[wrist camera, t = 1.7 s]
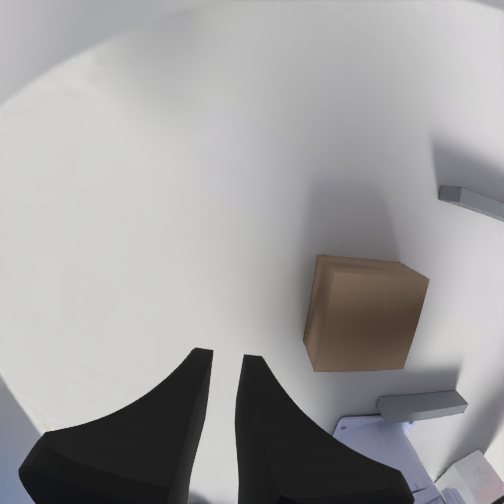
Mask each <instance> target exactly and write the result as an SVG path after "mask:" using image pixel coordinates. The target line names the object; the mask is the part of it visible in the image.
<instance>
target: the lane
mask: <svg viewBox="0 0 504 504" xmlns="http://www.w3.org/2000/svg"><path fill="white" fill-rule="evenodd" d="M439 200H442V201H445V202H449V203H452V204H455V205H458V206H461V207H464V208H467V209H470V210H473V211H476V212H479V213H482V214H485V215H487V216H490V217H493V218H496V219H498V220H501V221H504V204H503V203H501V202H498V201H496V200H494V199H491V198H489V197H486V196H484V195H481V194H479V193H476V192H474V191H471V190H468V189H466V188H463V187H455V186H441V187H440V194H439ZM467 406H468V403H467V402H466V401H465V400H464V399H463V398H462V396H461V395H460V394H459V393H458V392H457V391H456V390H451V391H443V392H434V393H424V394H413V395H399V396H380V397H379V400H378V402H377V404H376V407H377V409H378V410H379V412H380V414H381V416H382V418H383V420H384V421H385V423H386V424H393V423H402V422H410V421H418V420H425V419H431V418H438V417H443V416H449V415H454V414H459V413H464V411H465V409H466V408H467Z"/></svg>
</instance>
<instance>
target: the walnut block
mask: <svg viewBox="0 0 504 504" xmlns="http://www.w3.org/2000/svg"><path fill="white" fill-rule="evenodd" d="M428 283H429V279H428V278H426V277H425V276H423V275H421V274H419V273H418V272H416V271H414V270H412V269H411V268H409V267H407V266H405V265H404V264H402V263H400V262H389V261H379V260H368V259H358V258H348V257H337V256H327V255H317V262H316V269H315V275H314V281H313V288H312V294H311V300H310V305H309V311H308V317H307V322H306V328H305V333H304V338H303V342H304V344H305V347H306V350H307V353H308V355H309V358H310V361H311V364H312V366H313V369H314V372H348V371H376V370H393V369H403V367H404V364H405V361H406V359H407V356H408V353H409V350H410V347H411V344H412V341H413V337H414V334H415V331H416V328H417V324H418V321H419V317H420V314H421V310H422V307H423V303H424V299H425V295H426V291H427V287H428Z"/></svg>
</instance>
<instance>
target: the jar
mask: <svg viewBox="0 0 504 504" xmlns="http://www.w3.org/2000/svg"><path fill="white" fill-rule="evenodd" d="M434 485H435V486H436V488H437V489H438V491H439V492H440V494H441V495H442V497H443V498H444V496H443V494H442V492H441V491H442V490H444V489H445V488H447V487H449V488H450V489H451V488H454V489H457V490H458V492H459V493H460V495H461V497H462V498H463V500H464V501H465V503H466V504H503V503H504V483H503V481H502V480H501V478H500V477H499V476H498V474H497V473H496V471H495V470H494V469H493V467H492V466H491V465H490V463H489V462H488V461H487V459H486V458H485V457H484V455H483V454H482V453H481V451H480V450H479V449H477V450H476V451H474V452H472V453H471V454H469V455H467V456H466V457H464V458H462V459H460V460H458V461H457V462H455V463H453V464H452V465H451V466H450V467H449V468H448V469H447V470H446V472H445V473H444V474H443V475H442V476H441V477H440V478H439V479H438V480H437V481H436V482H435V483H434ZM444 500H445V498H444ZM445 502H446V501H445ZM446 504H447V503H446Z"/></svg>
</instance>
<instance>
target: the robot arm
mask: <svg viewBox="0 0 504 504" xmlns="http://www.w3.org/2000/svg"><path fill="white" fill-rule="evenodd" d="M213 351H214V350H208V349H202V348H194V349H193V350H192V351H191V352H190V354H189V355H188V356H187V357H186V359H185V360H184V361H183V362H182V363H181V364H180V365H179V366H178V367H177V368H176V369H175V370H174V371H173V372H172V373H171V374H170V375H169V376H168V377H167V378H166V379H165V380H163V381H162V382H161V383H160V384H158V385H157V386H156V387H155V388H154V389H152V390H151V391H150V392H148V393H147V394H145V395H144V396H142V397H141V398H139V399H138V400H136V401H135V402H133V403H131V404H129V405H128V406H126V407H124V408H122V409H120V410H118V411H116V412H114V413H112V414H110V415H107V416H105V417H102V418H100V419H97V420H94V421H91V422H88V423H85V424H81V425H78V426H74V427H69V428H65V429H60V430H55V431H49V432H45V433H44V434H43V436H42V437H41V438H40V439H39V440H38V441H37V443H36V444H35V445H34V447H33V448H32V450H31V451H30V453H29V454H28V456H27V457H26V459H25V460H24V462H23V464H22V465H21V467H20V468H19V477H20V480H21V482H22V484H23V486H24V488H25V489H26V491H27V492H28V494H29V495H30V496H31V498H32V499H33V501H34V502H35V503H36V504H187V499H188V492H189V484H190V477H191V472H192V467H193V463H194V459H195V456H196V452H197V448H198V444H199V440H200V437H201V433H202V429H203V425H204V421H205V416H206V409H207V402H208V394H209V385H210V376H211V368H212V359H213ZM414 423H415V421H410V422H402V423H393V424H386V423H385V421H384V420H383V418H382V416H381V415H379V416H360V417H344V418H342V419H340V421H339V423H338V425H337V427H336V429H335V432H334V434H333V436H331V435H330V434H328V433H327V432H326V431H324V430H323V429H322V428H321V427H319V426H318V425H317V424H316V423H315V422H314V421H312V420H311V419H310V418H309V417H308V416H307V415H306V414H305V413H304V412H303V411H302V410H301V409H300V408H299V407H298V406H297V405H296V404H295V402H294V401H293V400H292V399H291V398H290V397H289V395H288V394H287V393H286V391H285V390H284V389H283V387H282V386H281V385H280V383H279V382H278V381H277V379H276V378H275V376H274V375H273V373H272V372H271V370H270V368H269V367H268V365H267V363H266V362H265V360H264V359H263V357H262V356H254V355H245V354H244V357H243V363H242V368H241V374H240V380H239V386H238V391H237V397H236V409H235V434H236V448H237V461H238V474H239V490H238V504H446V503H447V504H466V503H465V501H464V500H463V498H462V497H461V495H460V493H459V492H458V490H457V489H454V488H451V489H450V488H449V487H447V488H445V489H444V490H442V491H441V492H442V494H443V496H444V498H445V500H444V498H443V497H442V495H441V494H440V492H439V491H438V489H437V488H436V486H435V485H434V484H433V482H432V480H431V478H430V476H429V475H428V473H427V471H426V469H425V468H424V466H423V464H422V462H421V461H420V459H419V457H418V455H417V454H416V452H415V450H414V448H413V447H412V445H411V443H410V441H409V440H408V438H407V435H408V433H409V431H410V430H411V428H412V426H413V425H414ZM342 426H344V427H342ZM445 501H446V502H445ZM503 504H504V503H503Z"/></svg>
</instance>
